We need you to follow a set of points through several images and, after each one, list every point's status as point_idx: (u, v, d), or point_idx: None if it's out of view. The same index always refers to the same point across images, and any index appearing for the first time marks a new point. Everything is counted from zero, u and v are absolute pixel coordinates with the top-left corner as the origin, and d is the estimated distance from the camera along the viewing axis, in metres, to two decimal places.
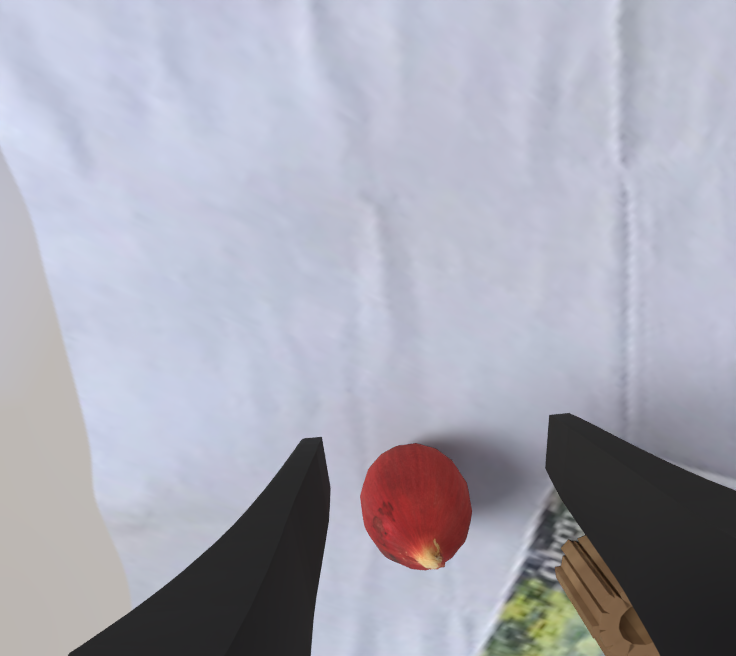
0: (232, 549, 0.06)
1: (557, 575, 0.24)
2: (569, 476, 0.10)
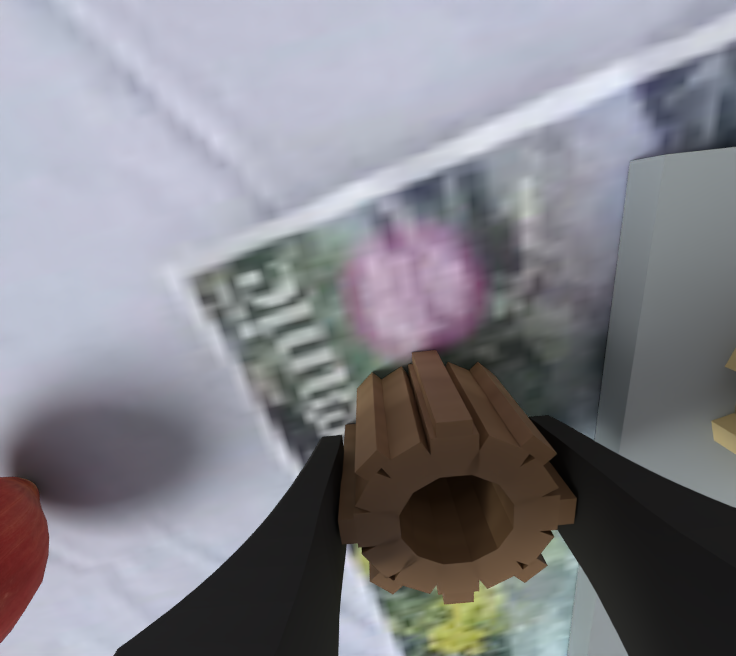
0: (266, 546, 0.06)
1: None
2: None
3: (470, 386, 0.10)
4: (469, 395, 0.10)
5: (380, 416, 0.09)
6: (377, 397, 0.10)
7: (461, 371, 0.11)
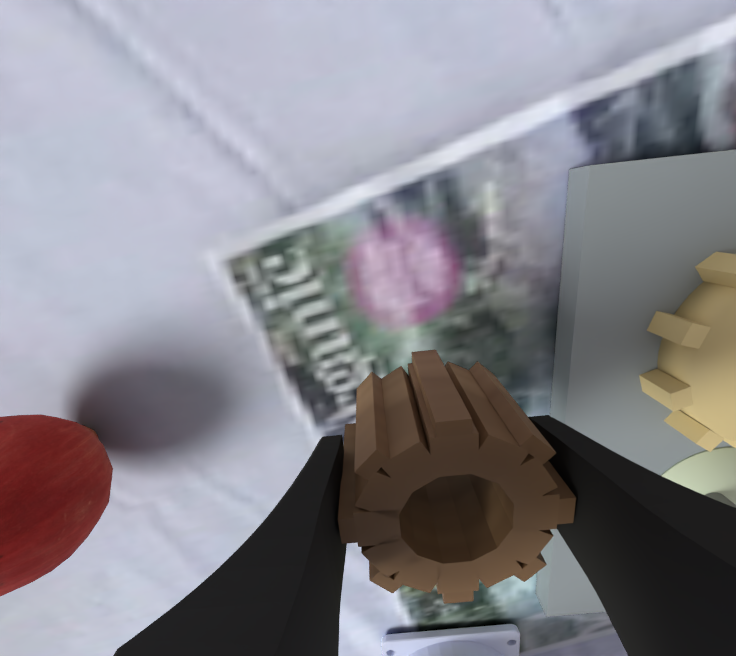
0: (266, 546, 0.06)
1: None
2: None
3: (470, 386, 0.10)
4: (469, 395, 0.10)
5: (380, 415, 0.09)
6: (377, 397, 0.10)
7: (461, 370, 0.11)
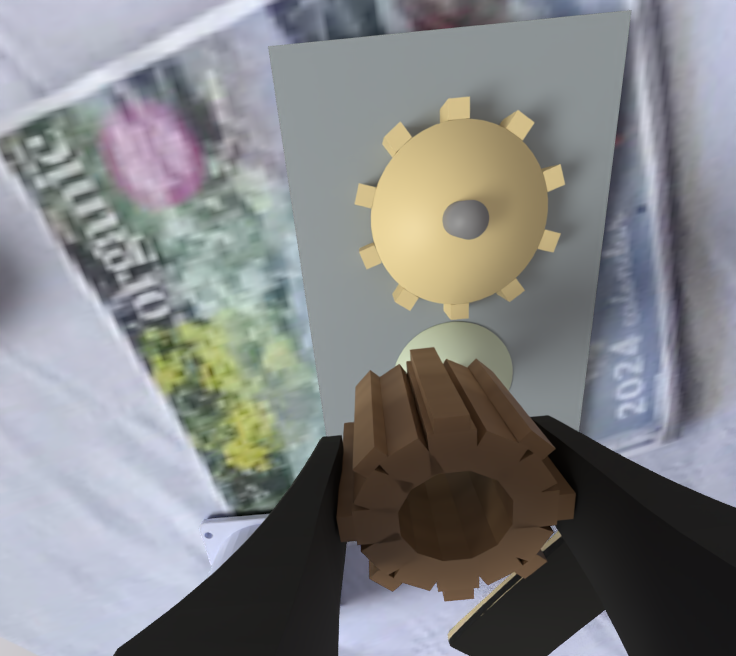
0: (266, 546, 0.06)
1: None
2: None
3: (468, 382, 0.10)
4: (467, 391, 0.10)
5: (378, 413, 0.09)
6: (375, 394, 0.10)
7: (460, 368, 0.11)
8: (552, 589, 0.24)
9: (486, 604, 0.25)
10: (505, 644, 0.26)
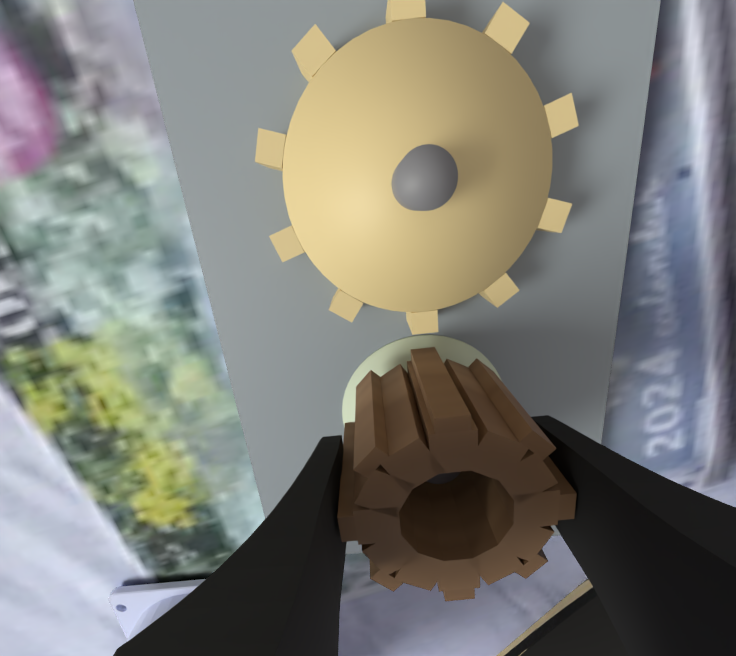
0: (266, 546, 0.06)
1: None
2: None
3: (469, 382, 0.10)
4: (468, 391, 0.10)
5: (379, 413, 0.09)
6: (376, 394, 0.10)
7: (460, 367, 0.11)
8: None
9: None
10: None
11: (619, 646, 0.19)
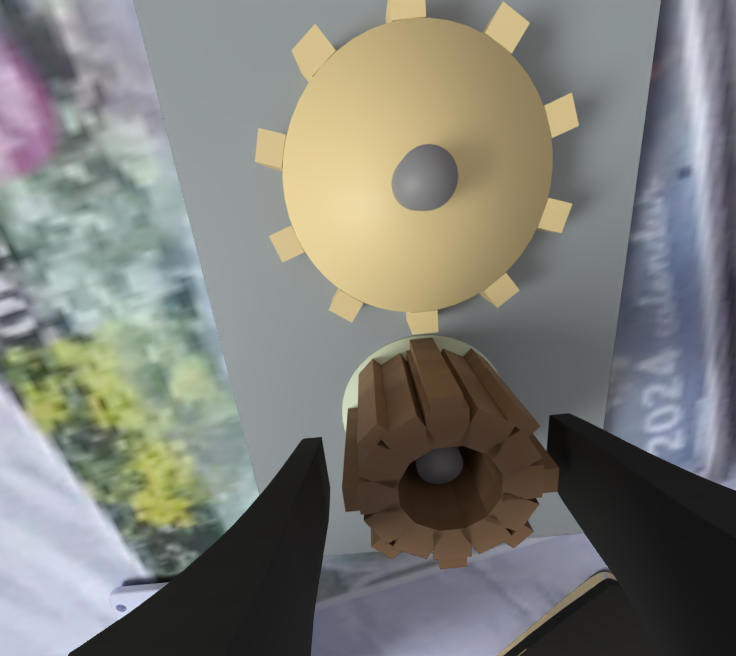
0: (233, 549, 0.06)
1: None
2: (569, 476, 0.10)
3: (463, 369, 0.11)
4: (462, 376, 0.10)
5: (380, 396, 0.10)
6: (377, 380, 0.11)
7: (456, 357, 0.12)
8: None
9: None
10: None
11: (619, 646, 0.19)
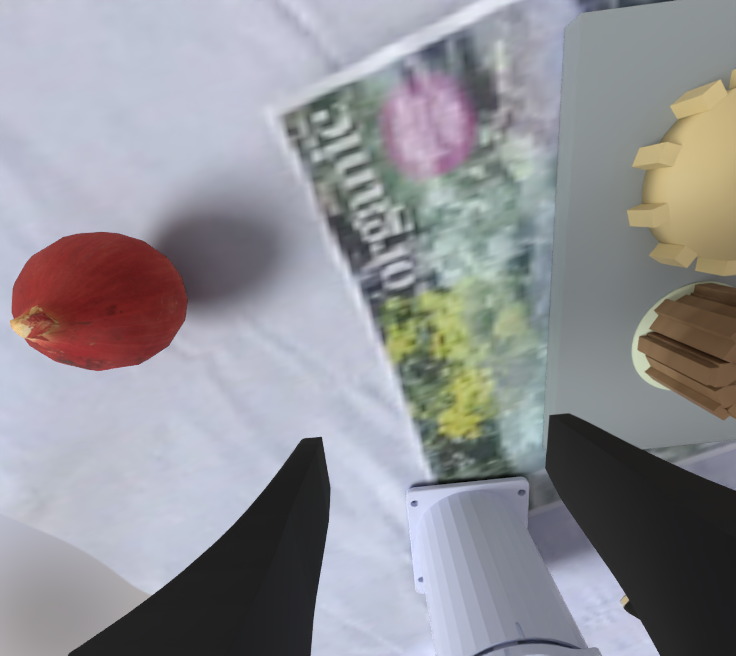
0: (233, 549, 0.06)
1: (652, 378, 0.19)
2: (569, 476, 0.10)
3: None
4: None
5: None
6: None
7: None
8: None
9: None
10: None
11: None
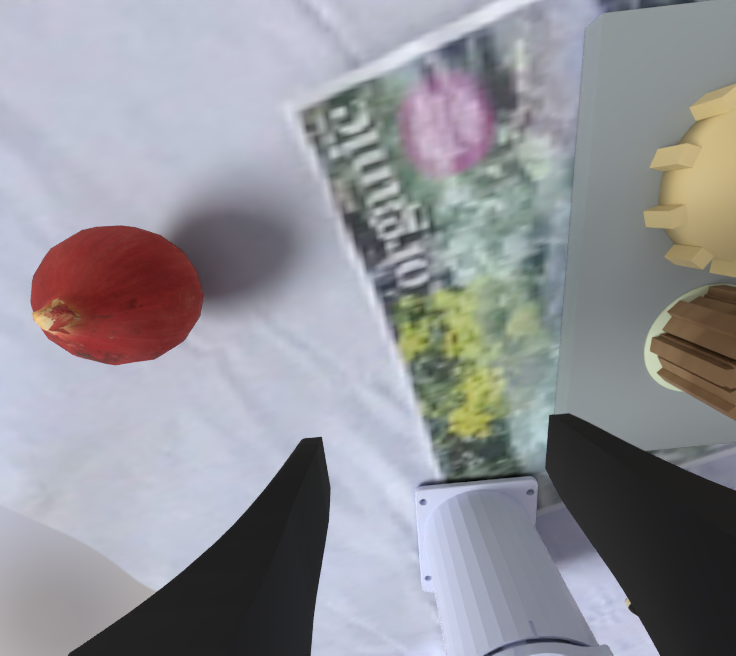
0: (233, 549, 0.06)
1: (664, 379, 0.19)
2: (569, 476, 0.10)
3: None
4: None
5: None
6: None
7: None
8: None
9: None
10: None
11: None
